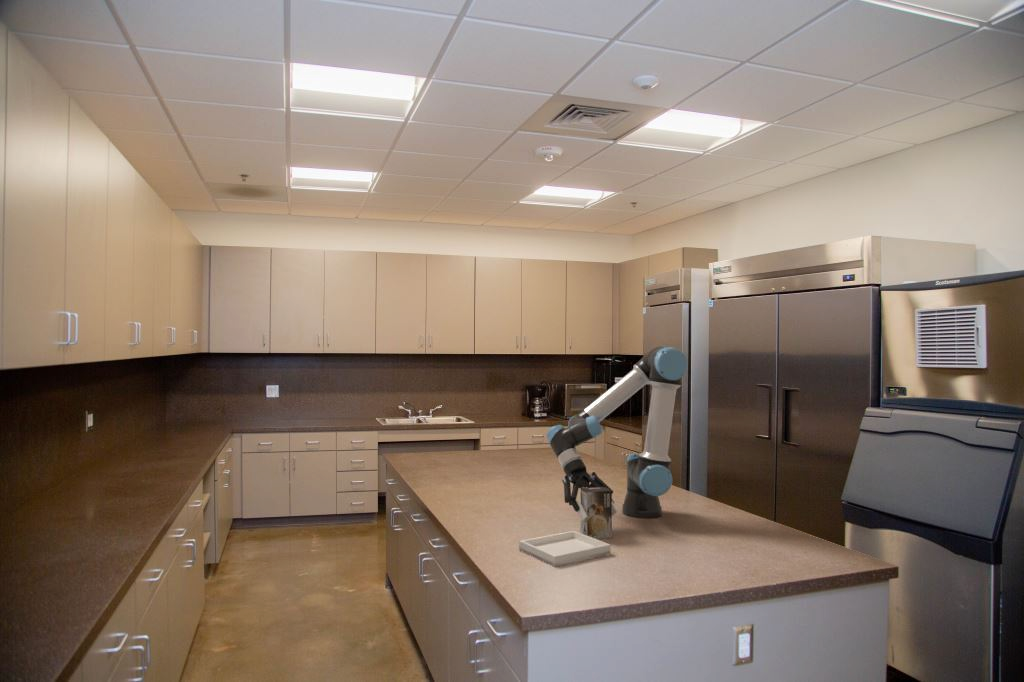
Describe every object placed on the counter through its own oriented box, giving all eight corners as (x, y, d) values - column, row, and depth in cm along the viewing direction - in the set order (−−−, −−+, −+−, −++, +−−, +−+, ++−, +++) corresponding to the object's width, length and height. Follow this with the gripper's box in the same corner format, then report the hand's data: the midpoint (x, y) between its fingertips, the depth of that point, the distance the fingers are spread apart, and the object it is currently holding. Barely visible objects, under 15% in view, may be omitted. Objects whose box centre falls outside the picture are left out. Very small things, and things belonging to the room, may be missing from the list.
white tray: (519, 550, 206) (519, 540, 206) (573, 539, 218) (573, 530, 218) (554, 567, 191) (554, 556, 191) (610, 554, 203) (610, 544, 203)
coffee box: (604, 532, 227) (605, 486, 227) (612, 538, 220) (612, 490, 221) (579, 534, 224) (580, 487, 224) (586, 540, 218) (587, 491, 218)
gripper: (593, 467, 242) (621, 517, 230) (539, 474, 228) (566, 527, 216) (603, 455, 238) (632, 505, 225) (549, 461, 224) (576, 514, 211)
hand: (600, 516), depth 221 cm, fingers open, 13 cm apart
